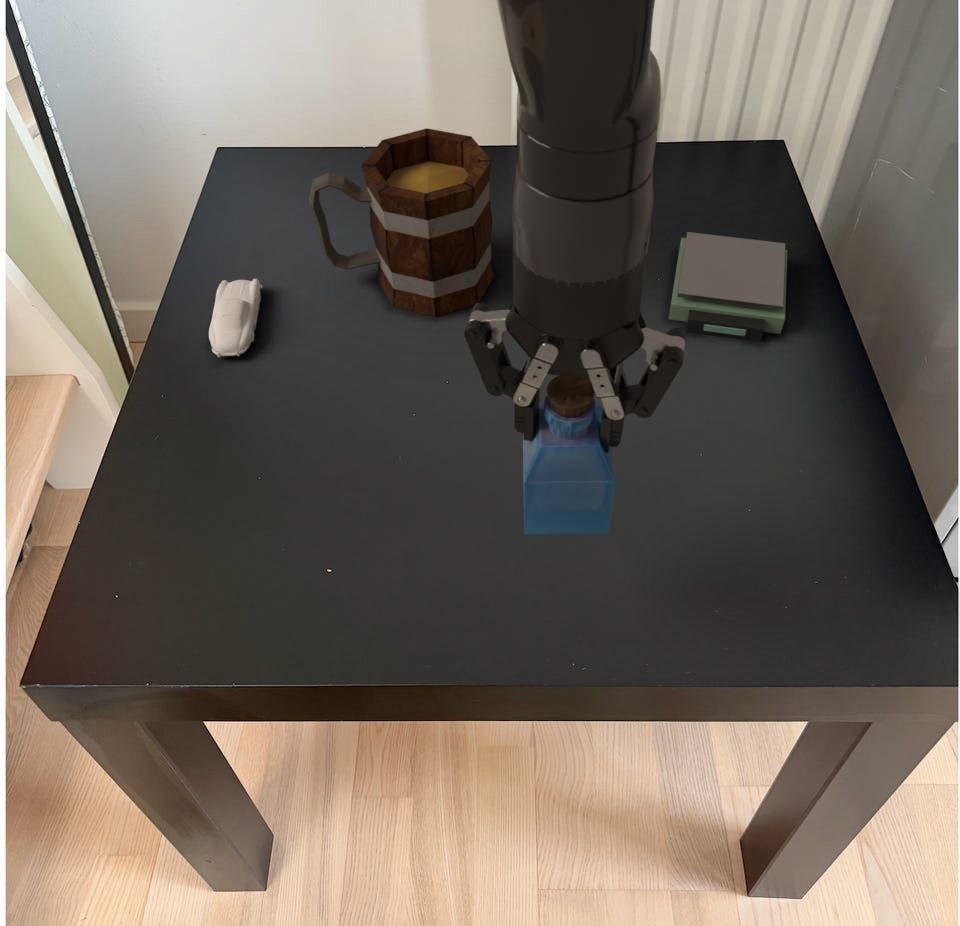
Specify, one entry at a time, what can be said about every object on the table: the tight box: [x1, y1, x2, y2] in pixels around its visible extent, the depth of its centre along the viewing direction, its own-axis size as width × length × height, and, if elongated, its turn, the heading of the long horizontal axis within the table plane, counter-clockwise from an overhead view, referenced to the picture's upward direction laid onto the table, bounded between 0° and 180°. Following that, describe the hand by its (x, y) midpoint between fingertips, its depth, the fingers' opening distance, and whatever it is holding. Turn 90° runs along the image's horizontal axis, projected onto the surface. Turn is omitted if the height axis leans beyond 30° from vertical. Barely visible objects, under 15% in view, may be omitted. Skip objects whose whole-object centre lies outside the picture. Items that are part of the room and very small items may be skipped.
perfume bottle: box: [522, 375, 616, 535], centre depth 64 cm, size 6×6×12 cm
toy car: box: [208, 278, 263, 358], centre depth 100 cm, size 5×12×4 cm, turn 3°
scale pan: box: [677, 231, 786, 310], centre depth 100 cm, size 11×11×1 cm
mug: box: [308, 127, 495, 318], centre depth 100 cm, size 20×14×15 cm
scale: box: [668, 237, 788, 342], centre depth 101 cm, size 12×14×2 cm
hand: (568, 437), depth 63 cm, fingers closed on perfume bottle, 4 cm apart
